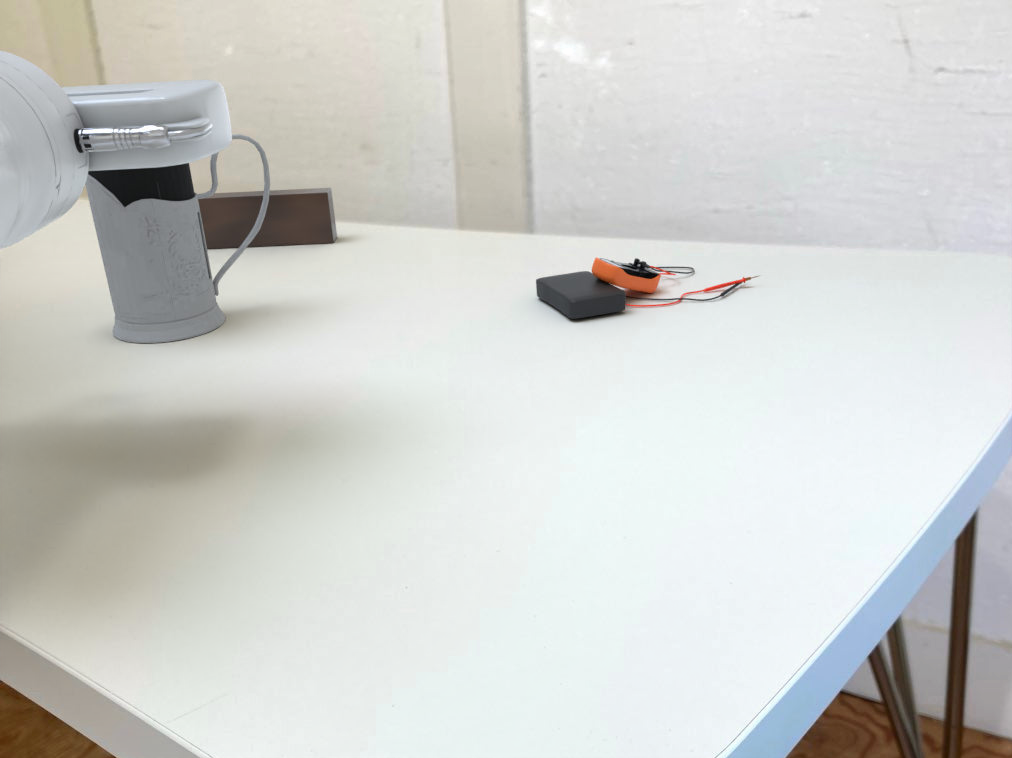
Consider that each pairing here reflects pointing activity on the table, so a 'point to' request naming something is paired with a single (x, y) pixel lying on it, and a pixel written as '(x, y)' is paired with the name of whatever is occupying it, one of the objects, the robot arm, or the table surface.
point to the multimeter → (609, 287)
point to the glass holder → (160, 250)
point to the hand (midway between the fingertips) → (88, 109)
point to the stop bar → (269, 218)
